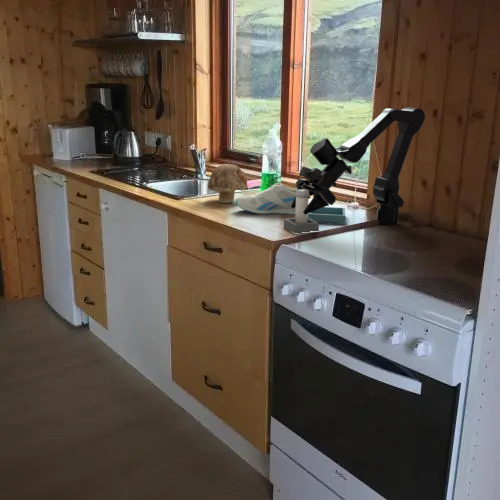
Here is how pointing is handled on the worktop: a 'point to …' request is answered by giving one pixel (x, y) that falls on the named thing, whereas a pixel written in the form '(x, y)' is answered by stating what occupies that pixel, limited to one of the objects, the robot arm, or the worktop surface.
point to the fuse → (301, 206)
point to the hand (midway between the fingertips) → (297, 210)
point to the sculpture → (227, 181)
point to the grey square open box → (301, 225)
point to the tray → (328, 215)
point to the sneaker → (269, 201)
